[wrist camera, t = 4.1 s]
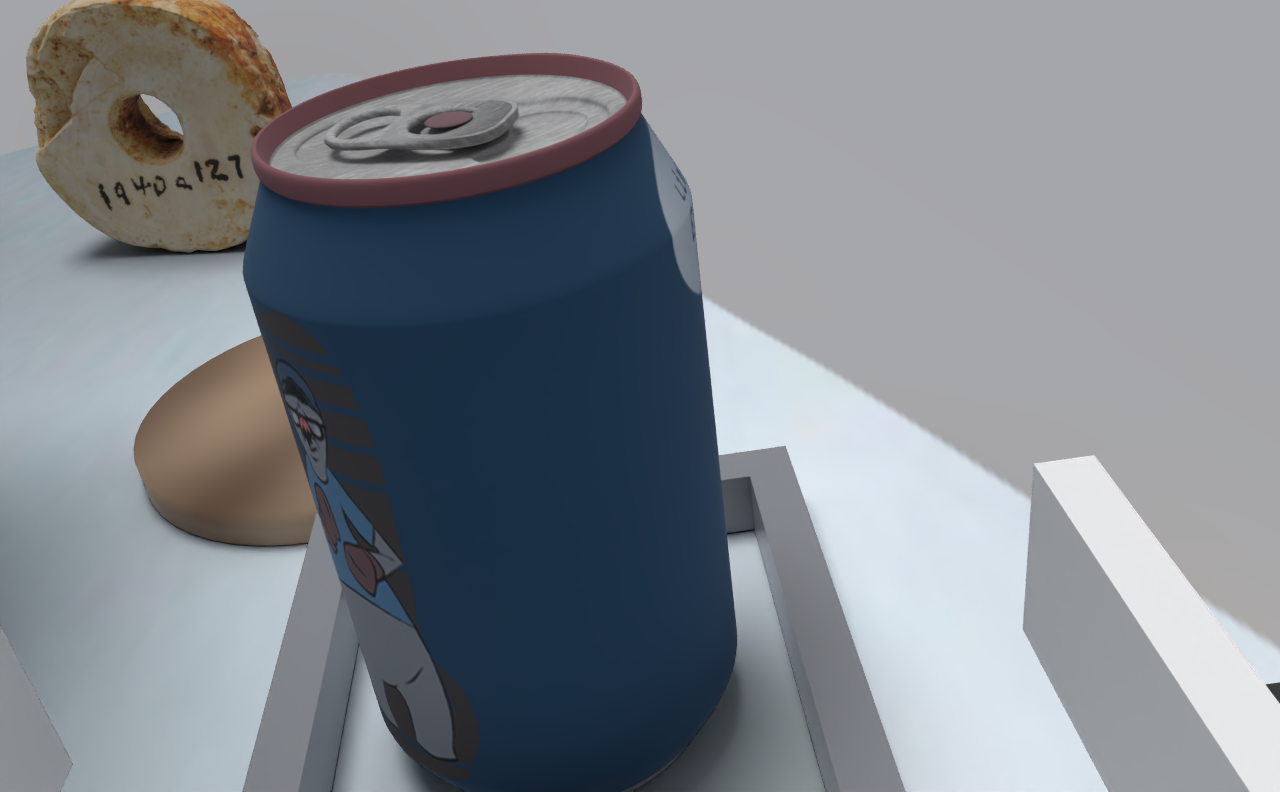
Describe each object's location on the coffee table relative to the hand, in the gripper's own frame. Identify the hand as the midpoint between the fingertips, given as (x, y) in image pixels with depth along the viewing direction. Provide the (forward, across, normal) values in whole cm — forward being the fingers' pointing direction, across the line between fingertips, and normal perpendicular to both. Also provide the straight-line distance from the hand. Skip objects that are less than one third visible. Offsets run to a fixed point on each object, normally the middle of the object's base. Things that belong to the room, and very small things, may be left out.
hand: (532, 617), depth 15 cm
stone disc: (+34, -15, -7) cm, 38 cm away
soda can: (+6, 0, -7) cm, 9 cm away
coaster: (+18, -7, -7) cm, 20 cm away
